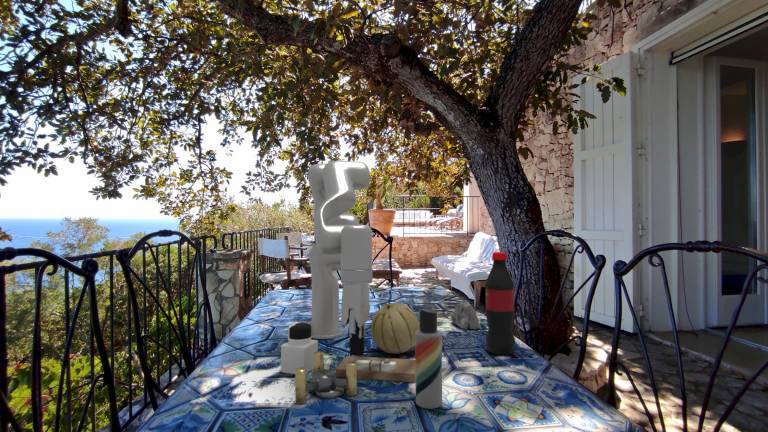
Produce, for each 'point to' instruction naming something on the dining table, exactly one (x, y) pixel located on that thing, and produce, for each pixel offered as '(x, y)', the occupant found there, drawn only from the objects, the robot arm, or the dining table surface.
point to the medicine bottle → (298, 349)
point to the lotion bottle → (428, 361)
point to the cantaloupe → (394, 328)
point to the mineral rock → (465, 316)
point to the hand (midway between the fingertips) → (357, 354)
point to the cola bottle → (500, 307)
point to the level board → (380, 369)
